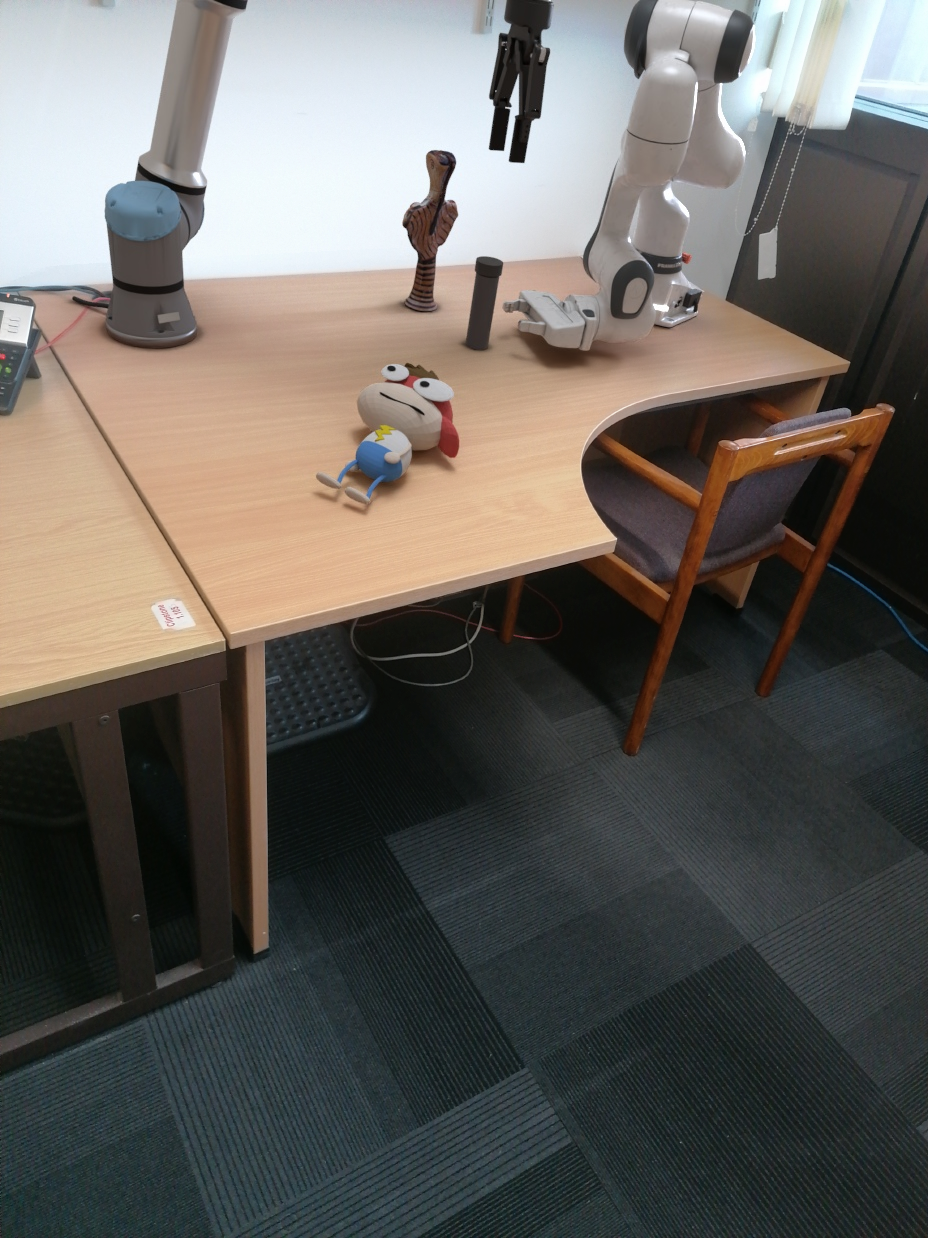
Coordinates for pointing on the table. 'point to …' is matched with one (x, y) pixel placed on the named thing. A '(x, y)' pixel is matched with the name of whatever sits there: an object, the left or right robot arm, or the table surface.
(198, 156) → the left robot arm
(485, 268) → the lid
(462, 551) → the table surface
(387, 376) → the toy
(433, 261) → the figurine
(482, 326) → the dark grey bottle
